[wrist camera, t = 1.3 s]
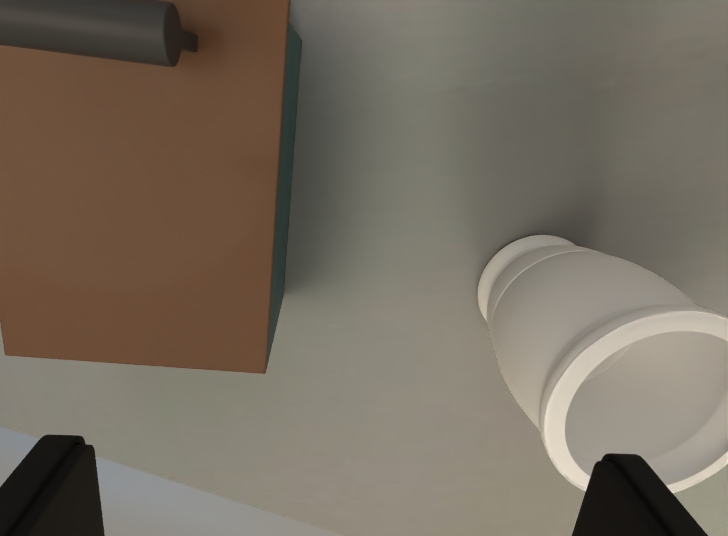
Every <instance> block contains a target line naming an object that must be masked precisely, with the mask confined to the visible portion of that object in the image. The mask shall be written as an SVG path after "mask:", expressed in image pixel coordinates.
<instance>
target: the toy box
mask: <svg viewBox="0 0 728 536" xmlns="http://www.w3.org/2000/svg"><path fill="white" fill-rule="evenodd" d="M301 46H302V40H301V39H300V37H299V36H298V34H297V33H296V31H295V30H294V28H293V27H292V25H291V24H290V22H289V32H288V48H287V64H286V80H285V95H284V111H283V127H282V142H281V158H280V174H279V189H278V205H277V221H276V237H275V252H274V268H273V284H272V299H271V315H270V331H269V346H268V360H269V356H270V352H271V347H272V343H273V339H274V334H275V330H276V326H277V321H278V317H279V312H280V308H281V304H282V299H283V294H284V280H285V267H286V253H287V239H288V225H289V211H290V198H291V184H292V170H293V156H294V142H295V129H296V115H297V101H298V87H299V73H300V60H301ZM267 364H268V362H267Z"/></svg>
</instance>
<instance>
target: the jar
mask: <svg viewBox="0 0 728 536" xmlns="http://www.w3.org/2000/svg"><path fill="white" fill-rule="evenodd" d="M478 304H479V308H480V311H481V313H482V315H483V317H484V319H485V320H486V322H487V325H488V331H489V335H490V339H491V342H492V345H493V348H494V352H495V356H496V360H497V363H498V366H499V368H500V371H501V373H502V376H503V378H504V380H505V382H506V384H507V386H508V388H509V390H510V392H511V393H512V395H513V396H514V398H515V400H516V401H517V403H518V404H519V405H520V407H521V408H522V410H523V411H524V412H525V413H526V415H527V416H528V417H529V418H530V420H531V421H532V422H533V423H534V424H535V425H536V426H537V427H538V429H539V430H540V435H541V439H542V442H543V444H544V447H545V449H546V451H547V453H548V455H549V457H550V459H551V461H552V463H553V464H554V466H555V467H556V469H557V470H558V471H559V472H560V474H561V475H562V476H563V477H564V478H566V479H567V480H568V481H569V482H570V483H572V484H573V485H575V486H576V487H578V488H580V489H582V490H584V491H586V489H587V486H588V483H589V480H590V477H591V474H592V470H593V467H594V465H595V463H596V462H597V461H601V460H602V458H603V456H604V455H605V454H608V453H617V454H637V455H639V456H641V457H642V458H643V459H644V460H645V461H646V462H647V463H648V465H649V466H650V467H651V468H652V469H653V471H654V472H655V473H656V474H657V475H658V477H659V478H660V479H661V480H662V481H663V483H664V484H665V485H666V486H667V487H668V489H669V490H670V491H671V492H672V493H676V492H679V491H681V490H684V489H686V488H689V487H691V486H693V485H695V484H697V483H699V482H701V481H703V480H705V479H706V478H708V477H710V476H711V475H713V474H714V473H716V472H717V471H719V470H720V469H721V468H723V467H724V466H725V465H727V464H728V317H726V316H724V315H722V314H720V313H717V312H715V311H712V310H709V309H706V308H702V307H698V306H697V305H696V304H695V303H694V302H693V301H692V300H691V299H690V298H689V297H687V296H686V295H685V294H684V293H683V292H681V291H680V290H679V289H677V288H676V287H675V286H673V285H672V284H671V283H669V282H668V281H666V280H665V279H663V278H661V277H660V276H658V275H656V274H655V273H653V272H651V271H649V270H647V269H645V268H643V267H641V266H639V265H637V264H635V263H632V262H630V261H627V260H624V259H621V258H618V257H614V256H611V255H606V254H604V253H601V252H599V251H596V250H592V249H589V248H585V247H580V246H576V245H575V244H573V243H572V242H570V241H568V240H566V239H564V238H561V237H557V236H552V235H534V236H528V237H525V238H521V239H519V240H516V241H514V242H512V243H510V244H508V245H507V246H505V247H504V248H503V249H501V250H500V251H499V252H498V253H497V254H496V255H495V256H494V257H493V258H492V259H491V260H490V261H489V263H488V264H487V266H486V267H485V269H484V271H483V273H482V275H481V278H480V281H479V285H478Z"/></svg>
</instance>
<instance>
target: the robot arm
mask: <svg viewBox="0 0 728 536" xmlns="http://www.w3.org/2000/svg"><path fill="white" fill-rule="evenodd" d="M0 536H104V527H103V518H102V510H101V502H100V494H99V485H98V477H97V467H96V459H95V451H94V447H93V446H92V445H86V444H85V440H84V438H83V437H82V436H73V435H45V436H43V437H42V438H41V439H40V440H39V441H38V442H37V443H36V445H35V446H34V447H33V448H32V450H31V451H30V452H29V453H28V454H27V456H26V457H25V458H24V459H23V460H22V462H21V463H20V464H19V465H18V466H17V468H16V469H15V470H14V471H13V473H12V474H11V475H10V476H9V477H8V479H7V480H6V481H5V482H4V483H3V485H2V486H1V487H0ZM572 536H708V535H707V534H706V533H705V532H704V531H703V529H702V528H701V527H700V526H699V525H698V523H697V522H696V521H695V520H694V519H693V517H692V516H691V515H690V514H689V513H688V511H687V510H686V509H685V508H684V507H683V505H682V504H681V503H680V502H679V501H678V499H677V498H676V497H675V496H674V495H673V493H672V492H671V491H670V490H669V489H668V487H667V486H666V485H665V484H664V483H663V481H662V480H661V479H660V478H659V477H658V475H657V474H656V473H655V472H654V471H653V469H652V468H651V467H650V466H649V465H648V463H647V462H646V461H645V460H644V459H643V458H642V457H641V456H639V455H637V454H617V453H608V454H605V455H604V456H603V458H602V460H601V461H597V462H596V463H595V465H594V467H593V470H592V474H591V477H590V480H589V483H588V486H587V489H586V493H585V496H584V499H583V502H582V505H581V509H580V512H579V515H578V518H577V521H576V524H575V528H574V531H573V534H572Z"/></svg>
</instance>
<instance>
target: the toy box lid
mask: <svg viewBox="0 0 728 536" xmlns="http://www.w3.org/2000/svg"><path fill="white" fill-rule="evenodd" d="M289 17H290V0H0V323H1V330H2V337H3V344H4V351H5V355H8V356H22V357H36V358H50V359H64V360H78V361H93V362H107V363H121V364H135V365H149V366H163V367H177V368H191V369H206V370H220V371H234V372H248V373H262V374H265V373H266V369H267V362H268V346H269V331H270V315H271V299H272V284H273V268H274V252H275V237H276V221H277V205H278V189H279V174H280V158H281V142H282V127H283V111H284V95H285V80H286V64H287V48H288V32H289Z"/></svg>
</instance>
